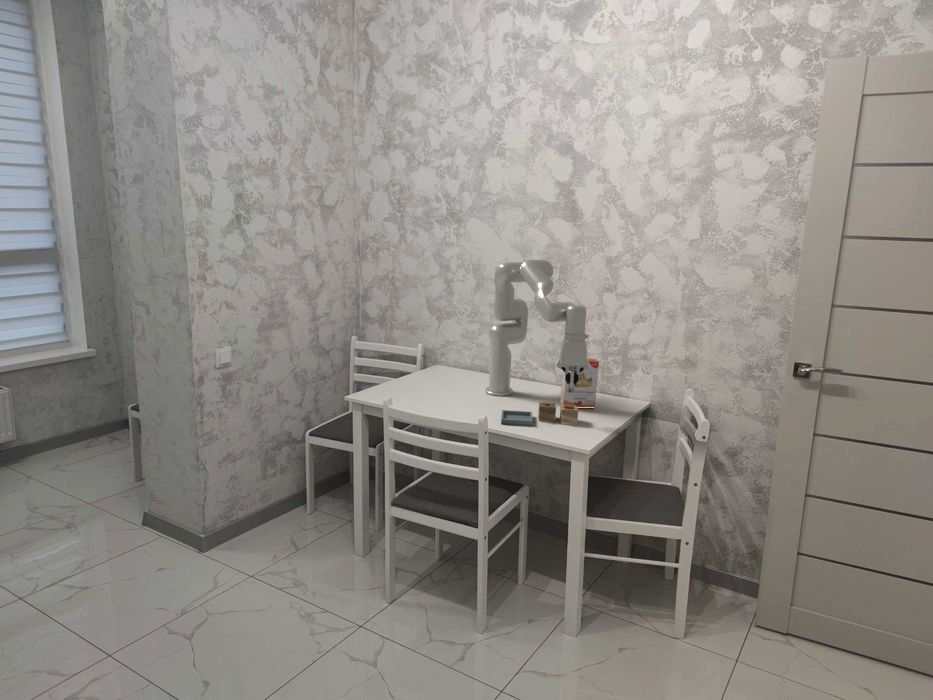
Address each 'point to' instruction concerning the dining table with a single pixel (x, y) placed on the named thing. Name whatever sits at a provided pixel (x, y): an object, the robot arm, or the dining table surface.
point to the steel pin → (571, 380)
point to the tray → (516, 418)
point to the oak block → (568, 414)
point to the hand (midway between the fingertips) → (571, 383)
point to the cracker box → (582, 387)
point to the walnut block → (547, 411)
